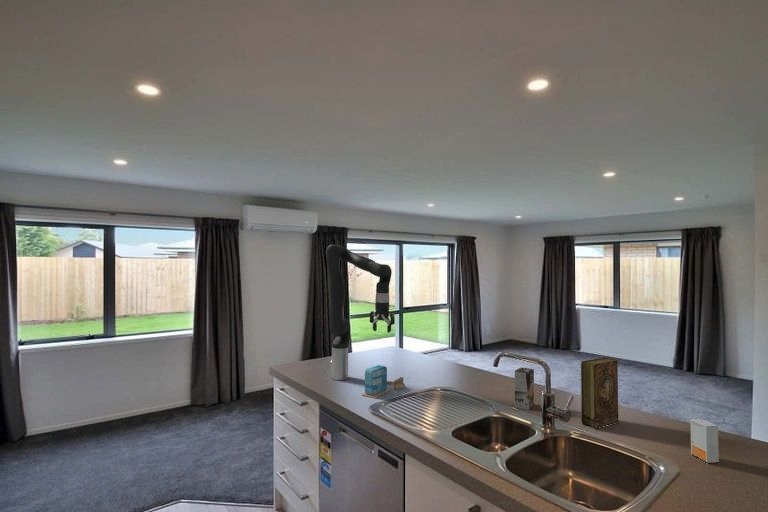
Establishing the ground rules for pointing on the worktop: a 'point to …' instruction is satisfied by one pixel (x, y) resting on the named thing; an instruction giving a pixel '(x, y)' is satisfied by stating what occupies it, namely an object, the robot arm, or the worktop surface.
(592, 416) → the book
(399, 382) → the oak rack
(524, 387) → the coffee box
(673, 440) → the worktop surface
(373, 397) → the terracotta pad
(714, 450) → the skincare box
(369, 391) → the blue flat block
